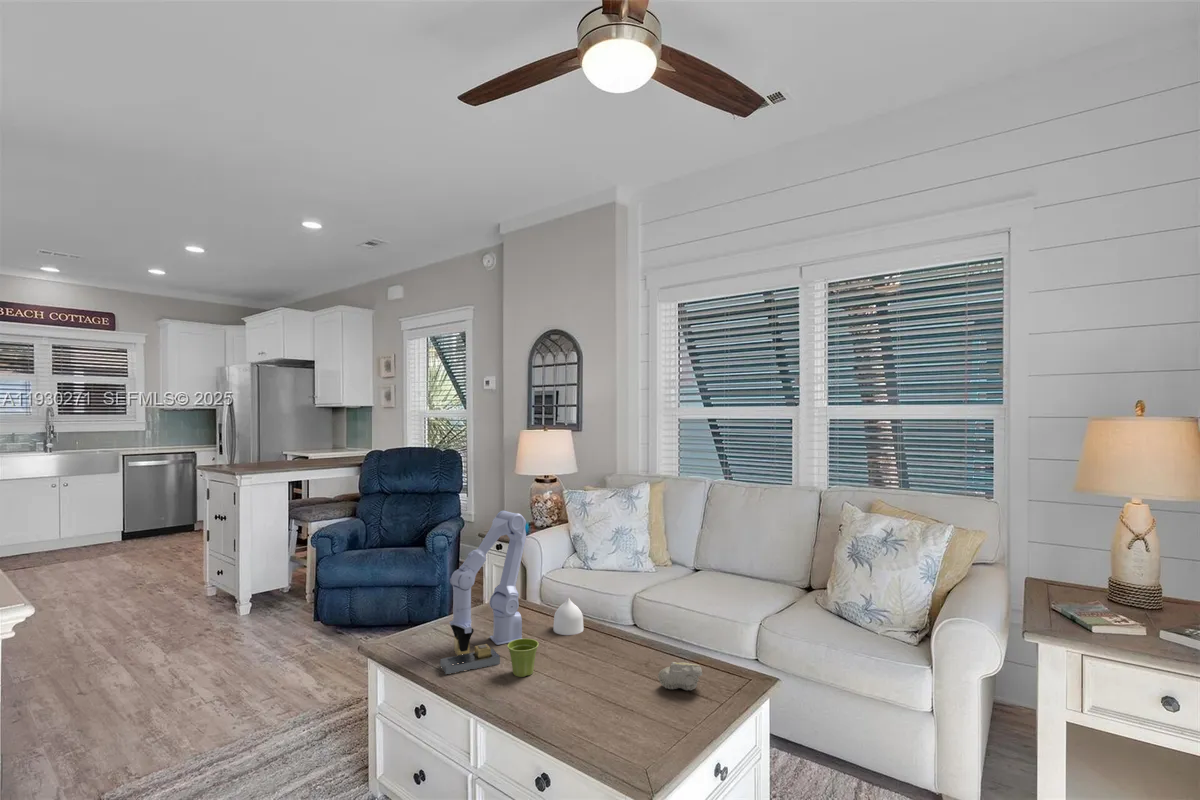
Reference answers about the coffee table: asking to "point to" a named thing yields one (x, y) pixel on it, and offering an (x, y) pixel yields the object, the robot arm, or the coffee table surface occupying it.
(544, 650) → the coffee table surface
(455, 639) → the gold square block
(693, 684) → the fossil replica
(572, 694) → the coffee table surface
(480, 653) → the tan square frame
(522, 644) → the plant pot
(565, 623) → the teardrop
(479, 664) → the grey slotted tray
